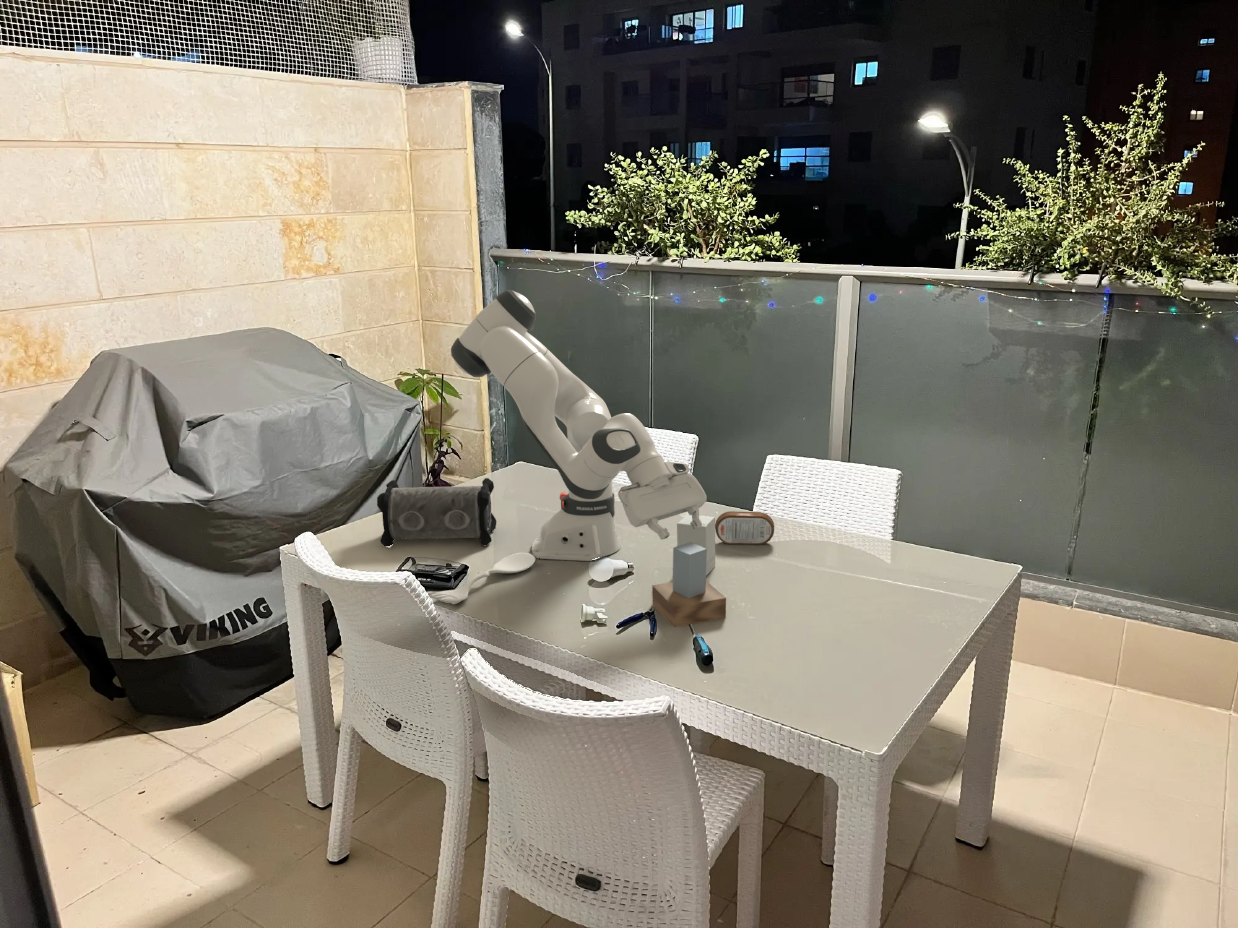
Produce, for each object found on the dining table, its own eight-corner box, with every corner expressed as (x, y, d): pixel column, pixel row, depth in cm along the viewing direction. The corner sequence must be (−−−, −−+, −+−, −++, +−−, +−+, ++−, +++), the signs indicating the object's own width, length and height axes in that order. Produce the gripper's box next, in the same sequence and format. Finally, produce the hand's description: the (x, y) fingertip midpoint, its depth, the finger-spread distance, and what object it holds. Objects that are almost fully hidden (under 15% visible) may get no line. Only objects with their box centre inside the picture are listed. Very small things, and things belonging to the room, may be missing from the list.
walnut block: (673, 628, 199) (673, 606, 198) (652, 606, 210) (652, 585, 209) (725, 619, 203) (726, 597, 202) (702, 597, 214) (702, 577, 212)
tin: (773, 542, 245) (774, 511, 243) (774, 546, 242) (775, 515, 240) (714, 541, 246) (715, 510, 244) (714, 545, 243) (715, 514, 241)
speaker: (491, 548, 245) (487, 493, 240) (379, 551, 244) (374, 495, 240) (497, 528, 259) (494, 475, 255) (392, 530, 259) (387, 478, 255)
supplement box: (716, 565, 230) (716, 516, 227) (705, 577, 224) (705, 526, 220) (687, 561, 233) (687, 512, 230) (676, 572, 227) (676, 522, 223)
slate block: (672, 590, 205) (673, 547, 202) (689, 584, 208) (690, 541, 205) (688, 598, 202) (689, 554, 199) (705, 591, 205) (706, 548, 202)
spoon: (423, 605, 212) (422, 591, 211) (514, 558, 238) (513, 545, 237) (453, 614, 207) (452, 600, 206) (543, 565, 233) (542, 552, 232)
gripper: (621, 481, 201) (652, 537, 196) (692, 462, 213) (723, 514, 208) (608, 496, 205) (638, 551, 201) (679, 477, 218) (708, 528, 213)
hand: (682, 532), depth 205 cm, fingers open, 8 cm apart
